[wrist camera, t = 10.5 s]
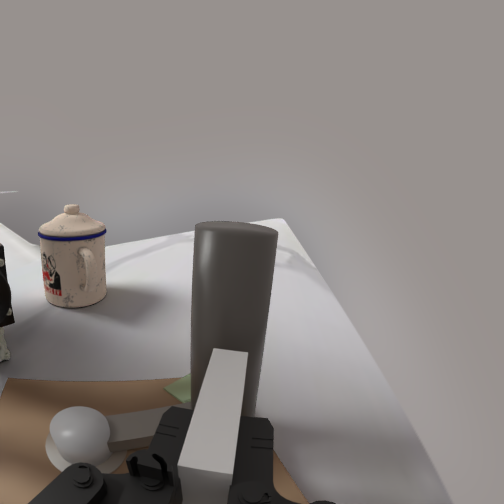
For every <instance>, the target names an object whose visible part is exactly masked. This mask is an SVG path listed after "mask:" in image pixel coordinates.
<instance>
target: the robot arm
mask: <svg viewBox="0 0 504 504" xmlns="http://www.w3.org/2000/svg"><path fill="white" fill-rule="evenodd" d="M247 358H248V352H240V351H232V350H224V349H216V348H214V349H213V352H212V355H211V358H210V361H209V365H208V368H207V371H206V374H205V377H204V381H203V384H202V387H201V390H200V393H199V397H198V400H197V403H196V406H195V409H194V410H191V409H186V408H180V407H175V406H171V407H170V408H169V409H168V410H167V411H166V412H164V413H163V415H162V417H161V420H160V422H159V426H158V427H157V429H156V431H155V434H154V436H153V439H152V441H151V443H150V446H149V448H148V449H144V450H138V451H135V452H134V453H132V454H130V455H129V456H128V458H127V459H126V464H127V467H128V470H129V473H125V474H108V473H101V471H100V470H99V469H98V468H96V467H95V466H93V465H91V464H89V463H81V462H79V463H75V464H72V465H70V466H68V467H67V468H66V469H65V470H64V471H62V472H61V473H60V474H59V475H58V476H57V477H56V478H55V479H54V480H53V481H52V482H51V483H50V484H48V485H47V486H46V487H45V488H44V489H43V490H42V491H41V492H40V493H39V494H38V495H37V496H35V497H34V498H33V499H32V500H31V501H30V502H29V503H28V504H300V503H297V502H293V501H290V500H288V499H286V498H284V497H283V496H281V495H280V494H279V493H278V492H277V491H276V489H275V487H274V483H273V427H272V425H271V423H270V421H269V420H268V418H257V417H247V416H241V410H242V402H243V393H244V385H245V376H246V367H247ZM310 504H335V503H333V502H329V501H316V502H313V503H310Z"/></svg>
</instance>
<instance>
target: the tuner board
mask: <svg viewBox="0 0 504 504" xmlns="http://www.w3.org/2000/svg"><path fill="white" fill-rule="evenodd" d="M187 402H191V373H190V374H188V375H186V376H185V377H183V378H170V379H155V380H136V381H48V380H30V379H16V378H8V379H7V382H6V384H5V387H4V389H3V392H2V395H1V397H0V504H28V503H29V502H30V501H31V500H32V499H33V498H34V497H35V496H37V495H38V494H39V493H40V492H41V491H42V490H43V489H44V488H45V487H46V486H47V485H48V484H50V483H51V482H52V481H53V480H54V479H55V478H56V477H57V476H58V475H59V474H60V473H61V472H62V471H64V470H65V469H66V468H67V467H68V466H70V465H72V464H70V463H69V462H67V461H66V460H64V459H63V458H62V456H61V455H60V453H59V451H58V449H57V447H56V445H55V443H54V440H53V438H52V436H51V433H50V423H51V420H52V419H53V417H54V416H55V415H56V414H57V413H58V412H60V411H62V410H64V409H66V408H70V407H75V406H83V407H89V408H92V409H95V410H97V411H99V412H100V413H101V414H103V415H104V416H109V415H117V414H124V413H131V412H137V411H144V410H150V409H156V408H161V407H167V406H172V405H177V404H182V403H187ZM148 448H149V446H147V447H141V448H135V449H129V450H123V451H116V452H112V454H111V456H110V457H109V458H108V459H107V460H106V461H105V462H103V463H102V464H100V465H97V466H95V467H96V468H98V469H99V470H100V471H101V473H108V474H125V473H129V470H128V467H127V464H126V459H127V458H128V456H129V455H130V454H132V453H134V452H135V451H138V450H144V449H148ZM273 483H274V487H275V489H276V491H277V492H278V493H279V494H280V495H281V496H283V497H284V498H286V499H288V500H290V501H293V502H297V503H300V504H309V503H308V501H307V500H306V498H305V497H304V495H303V494H302V492H301V491H300V489H299V488H298V487H297V485H296V484H295V482H294V481H293V479H292V478H291V476H290V475H289V473H288V471H287V470H286V468H285V467H284V465H283V464H282V462H281V461H280V459H279V458H278V456H277V454H276V453H275V451H274V450H273Z"/></svg>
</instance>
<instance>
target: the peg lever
mask: <svg viewBox="0 0 504 504" xmlns="http://www.w3.org/2000/svg"><path fill="white" fill-rule="evenodd" d="M277 240H278V232H277V231H276V230H274V229H272V228H269V227H265V226H261V225H256V224H250V223H242V222H229V221H211V222H202V223H198V224H196V225H195V237H194V255H193V277H192V305H191V402H187V403H182V404H177V405H172V406H175V407H180V408H186V409H191V410H194V409H195V406H196V403H197V400H198V397H199V393H200V390H201V387H202V384H203V381H204V377H205V374H206V371H207V368H208V365H209V361H210V358H211V355H212V352H213V349H214V348H216V349H224V350H232V351H240V352H248V358H247V367H246V376H245V385H244V393H243V402H242V410H241V416H247V417H254V413H255V406H256V400H257V393H258V386H259V379H260V372H261V365H262V358H263V350H264V343H265V335H266V328H267V320H268V313H269V305H270V297H271V289H272V281H273V273H274V265H275V256H276V248H277ZM170 407H171V406H167V407H161V408H156V409H150V410H144V411H137V412H131V413H124V414H117V415H109V416H104V415H103V414H101V413H100V412H99V411H97V410H95V409H92V408H89V407H83V406H75V407H70V408H66V409H64V410H62V411H60V412H58V413H57V414H56V415H55V416H54V417H53V419H52V420H51V423H50V433H51V436H52V438H53V440H54V443H55V445H56V447H57V449H58V451H59V453H60V455H61V456H62V458H63V459H64V460H66V461H67V462H69V463H70V464H75V463H79V462H81V463H89V464H91V465H93V466H97V465H100V464H102V463H103V462H105V461H106V460H107V459H108V458H109V457H110V456H111V454H112V452H116V451H123V450H129V449H135V448H141V447H147V446H150V443H151V441H152V439H153V436H154V434H155V431H156V429H157V427H158V426H159V422H160V420H161V417H162V415H163V413H164V412H166V411H167V410H168V409H169V408H170Z"/></svg>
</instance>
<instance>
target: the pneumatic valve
mask: <svg viewBox="0 0 504 504" xmlns="http://www.w3.org/2000/svg"><path fill="white" fill-rule="evenodd" d="M13 323H15V321H14V316H13V311H12V305H11V290H10V287H9V284H8V281H7V274H6V265H5V256H4V246H3V245H2V244H1V243H0V362H1V361H3V359H4V360H9V359H10V357H11V354H10V352H9V350H8V349H7V346H6V341H5V339H4V337H3V334H4V328H3V326H7V325H10V324H13Z"/></svg>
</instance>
